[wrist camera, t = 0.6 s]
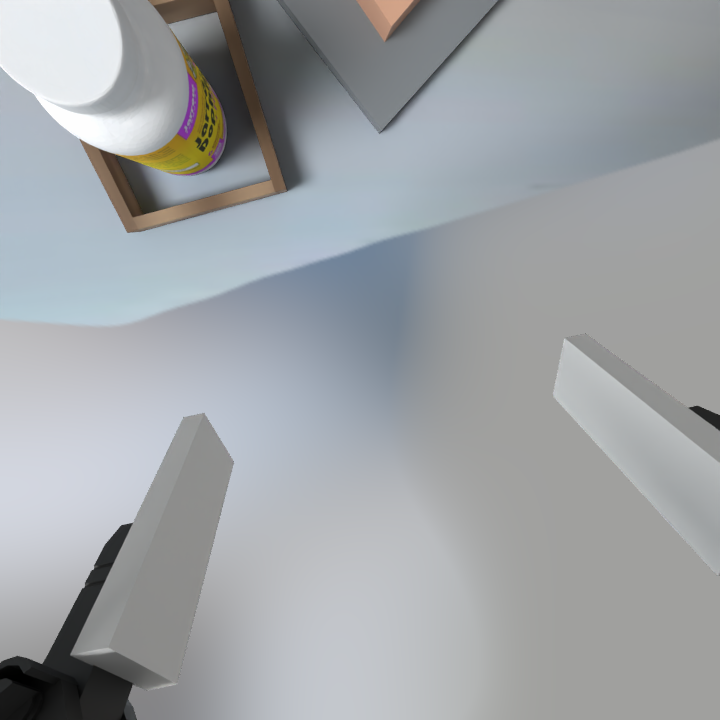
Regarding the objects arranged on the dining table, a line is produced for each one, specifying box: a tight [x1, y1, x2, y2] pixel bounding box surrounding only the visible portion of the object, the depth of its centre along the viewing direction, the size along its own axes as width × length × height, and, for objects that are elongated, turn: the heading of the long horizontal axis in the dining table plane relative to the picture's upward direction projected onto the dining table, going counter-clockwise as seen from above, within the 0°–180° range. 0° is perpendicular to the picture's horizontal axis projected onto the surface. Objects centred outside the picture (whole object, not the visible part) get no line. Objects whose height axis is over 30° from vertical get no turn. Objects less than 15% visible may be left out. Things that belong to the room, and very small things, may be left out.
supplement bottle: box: [0, 0, 227, 176], centre depth 17 cm, size 7×7×13 cm
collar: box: [80, 0, 287, 233], centre depth 22 cm, size 12×12×2 cm
